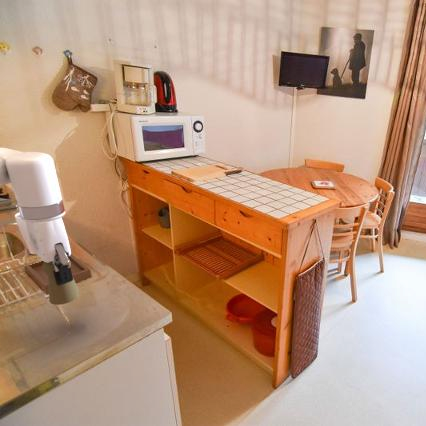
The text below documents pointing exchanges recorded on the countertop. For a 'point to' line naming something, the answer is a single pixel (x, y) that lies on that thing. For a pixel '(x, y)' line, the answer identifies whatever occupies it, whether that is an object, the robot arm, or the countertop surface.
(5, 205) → the countertop surface
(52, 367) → the countertop surface
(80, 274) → the tray
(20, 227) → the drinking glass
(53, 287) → the cork
